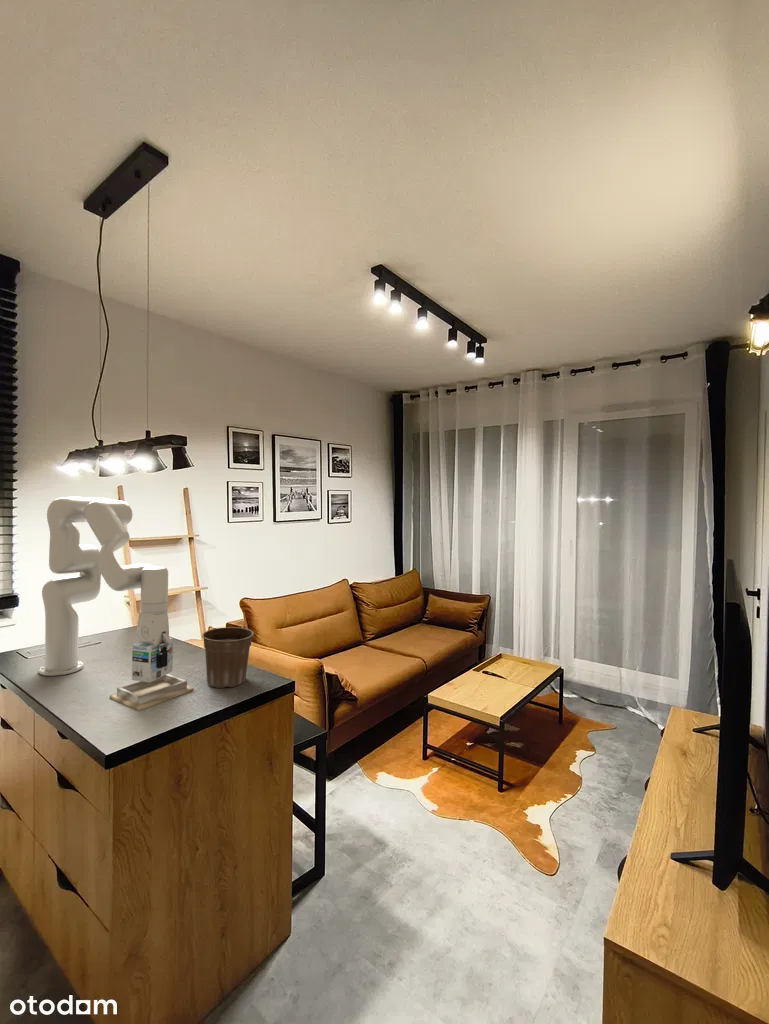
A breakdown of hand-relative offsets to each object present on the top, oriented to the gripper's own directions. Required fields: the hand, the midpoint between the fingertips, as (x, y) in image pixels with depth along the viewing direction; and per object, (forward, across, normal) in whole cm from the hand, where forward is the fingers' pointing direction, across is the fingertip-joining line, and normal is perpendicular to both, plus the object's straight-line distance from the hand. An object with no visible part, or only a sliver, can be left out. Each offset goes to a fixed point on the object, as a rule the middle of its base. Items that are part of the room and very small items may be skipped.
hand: (153, 663), depth 149 cm
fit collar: (+9, 0, 0) cm, 9 cm away
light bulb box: (+4, 0, 0) cm, 4 cm away
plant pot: (+10, +10, +20) cm, 24 cm away
